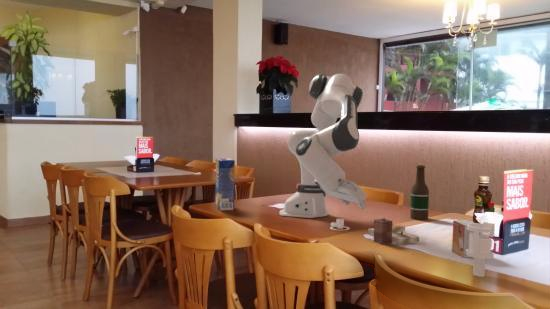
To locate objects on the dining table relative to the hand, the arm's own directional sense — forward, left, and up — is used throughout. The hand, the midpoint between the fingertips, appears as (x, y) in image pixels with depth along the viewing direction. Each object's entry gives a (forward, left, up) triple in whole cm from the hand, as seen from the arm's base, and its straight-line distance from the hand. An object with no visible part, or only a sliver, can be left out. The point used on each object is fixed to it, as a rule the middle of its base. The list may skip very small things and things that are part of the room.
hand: (355, 205), depth 162 cm
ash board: (+14, +14, -14) cm, 24 cm away
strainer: (+33, -27, -14) cm, 45 cm away
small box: (+35, -5, -14) cm, 38 cm away
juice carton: (-62, +64, -14) cm, 90 cm away
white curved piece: (-4, +30, -15) cm, 34 cm away
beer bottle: (+30, +55, -14) cm, 64 cm away
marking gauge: (+13, +8, -14) cm, 21 cm away
